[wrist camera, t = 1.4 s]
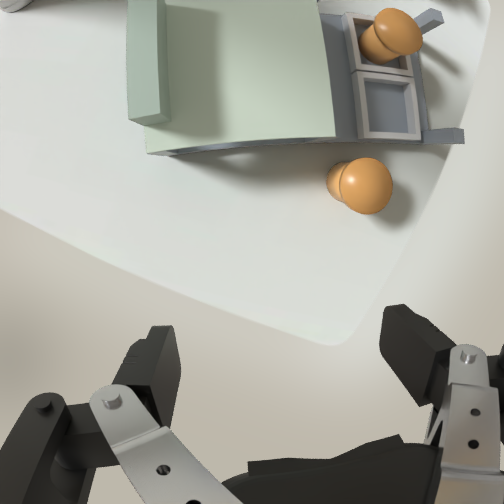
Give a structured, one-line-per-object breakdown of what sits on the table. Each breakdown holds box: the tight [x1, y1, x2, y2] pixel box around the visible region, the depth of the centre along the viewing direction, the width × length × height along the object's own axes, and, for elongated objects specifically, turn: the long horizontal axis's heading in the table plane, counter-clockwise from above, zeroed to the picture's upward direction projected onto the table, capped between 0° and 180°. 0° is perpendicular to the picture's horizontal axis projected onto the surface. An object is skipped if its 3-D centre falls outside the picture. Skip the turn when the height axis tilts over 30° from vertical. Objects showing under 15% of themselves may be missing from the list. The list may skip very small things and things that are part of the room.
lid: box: [126, 0, 336, 153], centre depth 17 cm, size 14×14×4 cm
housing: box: [147, 0, 464, 156], centre depth 23 cm, size 14×27×7 cm, turn 95°
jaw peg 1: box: [358, 8, 423, 65], centre depth 22 cm, size 5×5×6 cm
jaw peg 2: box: [326, 158, 393, 214], centre depth 27 cm, size 5×5×6 cm
